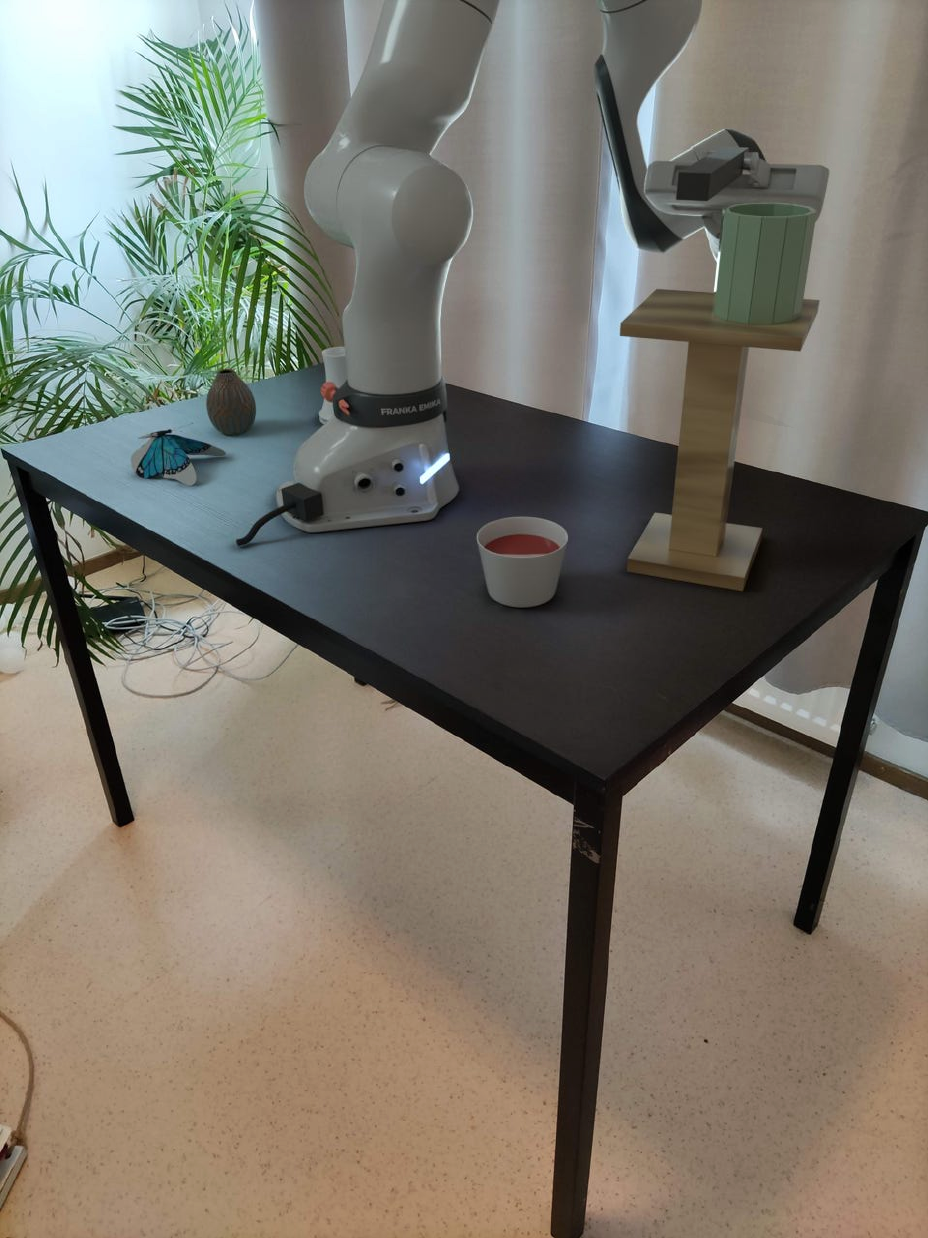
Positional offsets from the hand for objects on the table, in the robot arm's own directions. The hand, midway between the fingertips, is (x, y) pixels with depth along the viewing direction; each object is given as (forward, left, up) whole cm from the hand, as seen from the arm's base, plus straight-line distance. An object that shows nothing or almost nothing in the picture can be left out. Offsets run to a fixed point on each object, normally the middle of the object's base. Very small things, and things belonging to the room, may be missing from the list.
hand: (728, 158), depth 104 cm
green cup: (-10, -21, -11) cm, 25 cm away
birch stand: (-12, -19, -37) cm, 43 cm away
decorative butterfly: (-61, +31, -37) cm, 77 cm away
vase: (-51, +42, -37) cm, 75 cm away
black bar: (-5, -5, -2) cm, 7 cm away
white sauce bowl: (-33, -18, -37) cm, 52 cm away
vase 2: (-35, +40, -37) cm, 64 cm away
